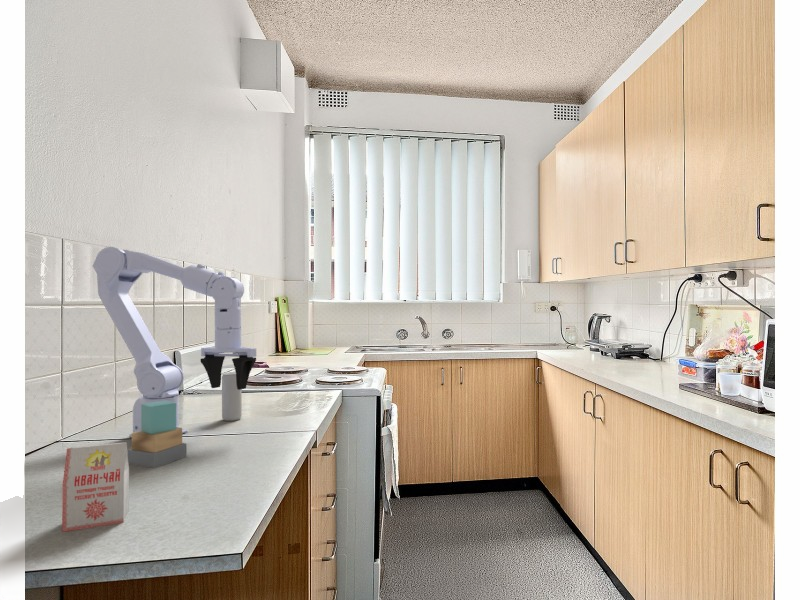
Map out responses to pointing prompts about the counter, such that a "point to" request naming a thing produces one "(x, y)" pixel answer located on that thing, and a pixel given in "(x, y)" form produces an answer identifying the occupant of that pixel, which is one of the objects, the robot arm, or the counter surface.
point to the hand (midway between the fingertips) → (228, 388)
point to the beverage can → (231, 398)
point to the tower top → (156, 440)
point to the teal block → (158, 417)
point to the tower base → (156, 456)
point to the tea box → (95, 486)
